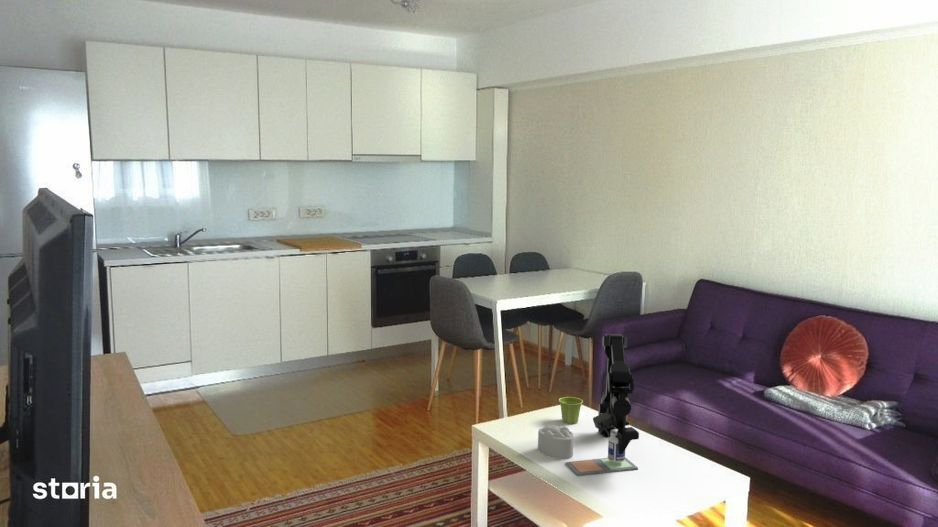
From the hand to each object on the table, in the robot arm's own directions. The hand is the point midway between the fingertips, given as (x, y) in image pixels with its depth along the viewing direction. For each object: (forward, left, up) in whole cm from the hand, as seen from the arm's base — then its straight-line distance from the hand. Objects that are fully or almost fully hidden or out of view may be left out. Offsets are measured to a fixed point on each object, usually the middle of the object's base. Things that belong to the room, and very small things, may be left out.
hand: (616, 450), depth 241 cm
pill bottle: (0, 0, -4) cm, 4 cm away
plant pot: (-2, -43, -5) cm, 43 cm away
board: (+6, 0, -5) cm, 8 cm away
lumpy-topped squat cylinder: (+15, -15, -5) cm, 22 cm away
